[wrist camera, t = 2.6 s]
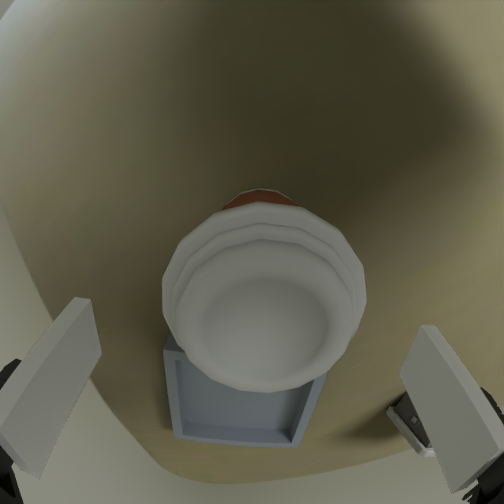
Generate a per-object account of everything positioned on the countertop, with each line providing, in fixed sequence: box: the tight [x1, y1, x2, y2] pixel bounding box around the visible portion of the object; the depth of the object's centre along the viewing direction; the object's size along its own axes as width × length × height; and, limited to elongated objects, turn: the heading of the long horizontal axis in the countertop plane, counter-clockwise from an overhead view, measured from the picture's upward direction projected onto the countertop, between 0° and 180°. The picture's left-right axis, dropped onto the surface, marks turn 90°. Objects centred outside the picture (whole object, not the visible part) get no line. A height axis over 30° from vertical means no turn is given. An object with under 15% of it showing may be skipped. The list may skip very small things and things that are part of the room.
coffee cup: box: [162, 188, 367, 393], centre depth 17 cm, size 9×9×12 cm
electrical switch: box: [386, 391, 436, 457], centre depth 27 cm, size 9×5×9 cm, turn 68°
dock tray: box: [163, 332, 329, 448], centre depth 28 cm, size 14×14×2 cm
